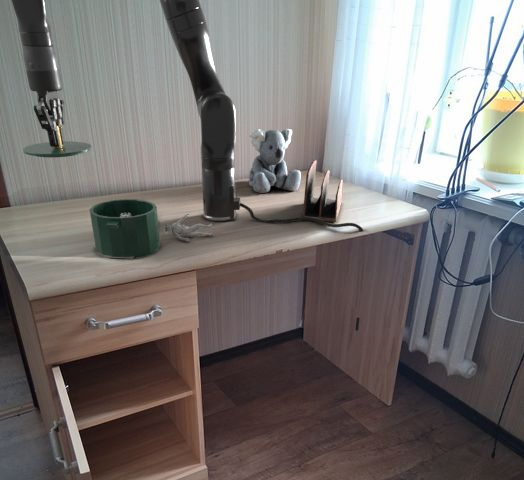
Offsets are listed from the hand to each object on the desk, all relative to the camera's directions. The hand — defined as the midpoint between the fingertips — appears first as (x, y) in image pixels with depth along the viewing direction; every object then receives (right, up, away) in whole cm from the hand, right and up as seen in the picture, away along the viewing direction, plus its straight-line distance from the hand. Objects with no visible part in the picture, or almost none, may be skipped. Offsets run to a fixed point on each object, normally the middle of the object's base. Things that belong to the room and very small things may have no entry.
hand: (57, 145), depth 130 cm
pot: (+19, -27, -2) cm, 32 cm away
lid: (0, -1, +1) cm, 1 cm away
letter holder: (+71, -10, +27) cm, 76 cm away
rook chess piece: (+19, -26, -2) cm, 32 cm away
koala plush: (+55, +5, +51) cm, 75 cm away
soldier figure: (+33, -22, +6) cm, 40 cm away
